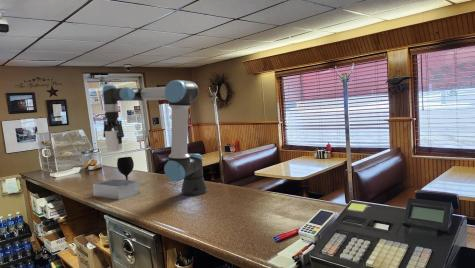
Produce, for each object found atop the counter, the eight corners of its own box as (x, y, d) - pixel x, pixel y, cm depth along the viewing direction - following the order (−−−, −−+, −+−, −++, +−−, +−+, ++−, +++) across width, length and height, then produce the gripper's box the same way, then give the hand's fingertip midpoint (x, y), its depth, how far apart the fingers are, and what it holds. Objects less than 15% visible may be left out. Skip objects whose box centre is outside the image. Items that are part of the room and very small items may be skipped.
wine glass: (132, 188, 212) (129, 158, 211) (116, 189, 213) (113, 159, 211) (137, 185, 223) (135, 156, 221) (122, 186, 223) (120, 157, 221)
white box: (126, 149, 200) (124, 129, 199) (118, 151, 191) (117, 131, 190) (111, 149, 201) (109, 130, 200) (102, 152, 192) (101, 131, 191)
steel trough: (139, 193, 198) (138, 181, 198) (119, 200, 186) (117, 187, 185) (114, 190, 212) (113, 178, 211) (93, 196, 199) (92, 184, 198)
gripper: (128, 110, 191) (131, 148, 193) (105, 111, 203) (108, 147, 205) (117, 111, 185) (121, 150, 187) (94, 112, 197) (98, 149, 199)
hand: (114, 148), depth 196 cm, fingers closed on white box, 9 cm apart
